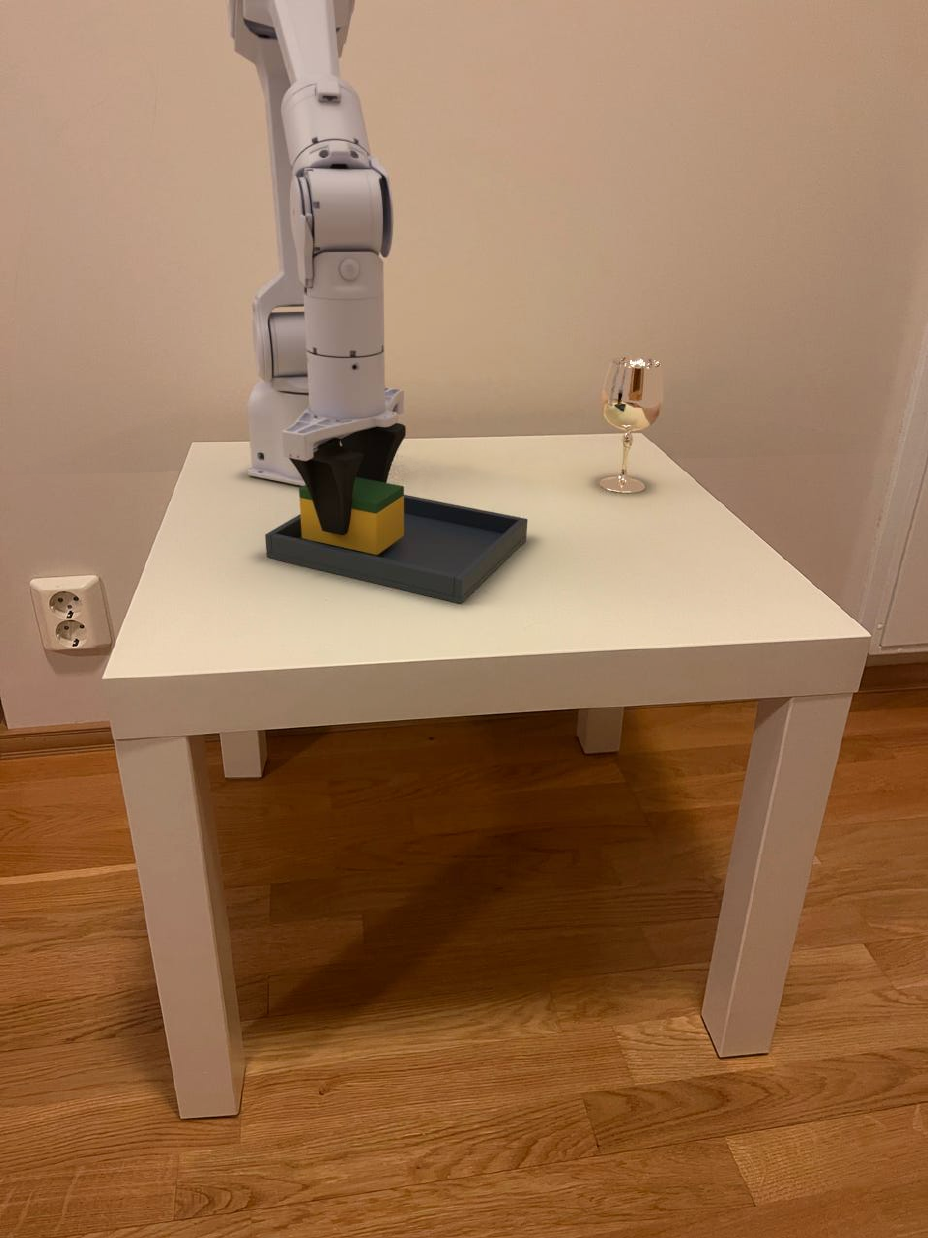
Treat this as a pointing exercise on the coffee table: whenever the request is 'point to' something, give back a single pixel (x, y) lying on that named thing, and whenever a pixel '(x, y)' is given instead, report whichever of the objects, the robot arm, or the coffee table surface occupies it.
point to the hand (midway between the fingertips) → (351, 521)
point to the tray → (416, 550)
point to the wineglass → (631, 408)
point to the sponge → (361, 517)
